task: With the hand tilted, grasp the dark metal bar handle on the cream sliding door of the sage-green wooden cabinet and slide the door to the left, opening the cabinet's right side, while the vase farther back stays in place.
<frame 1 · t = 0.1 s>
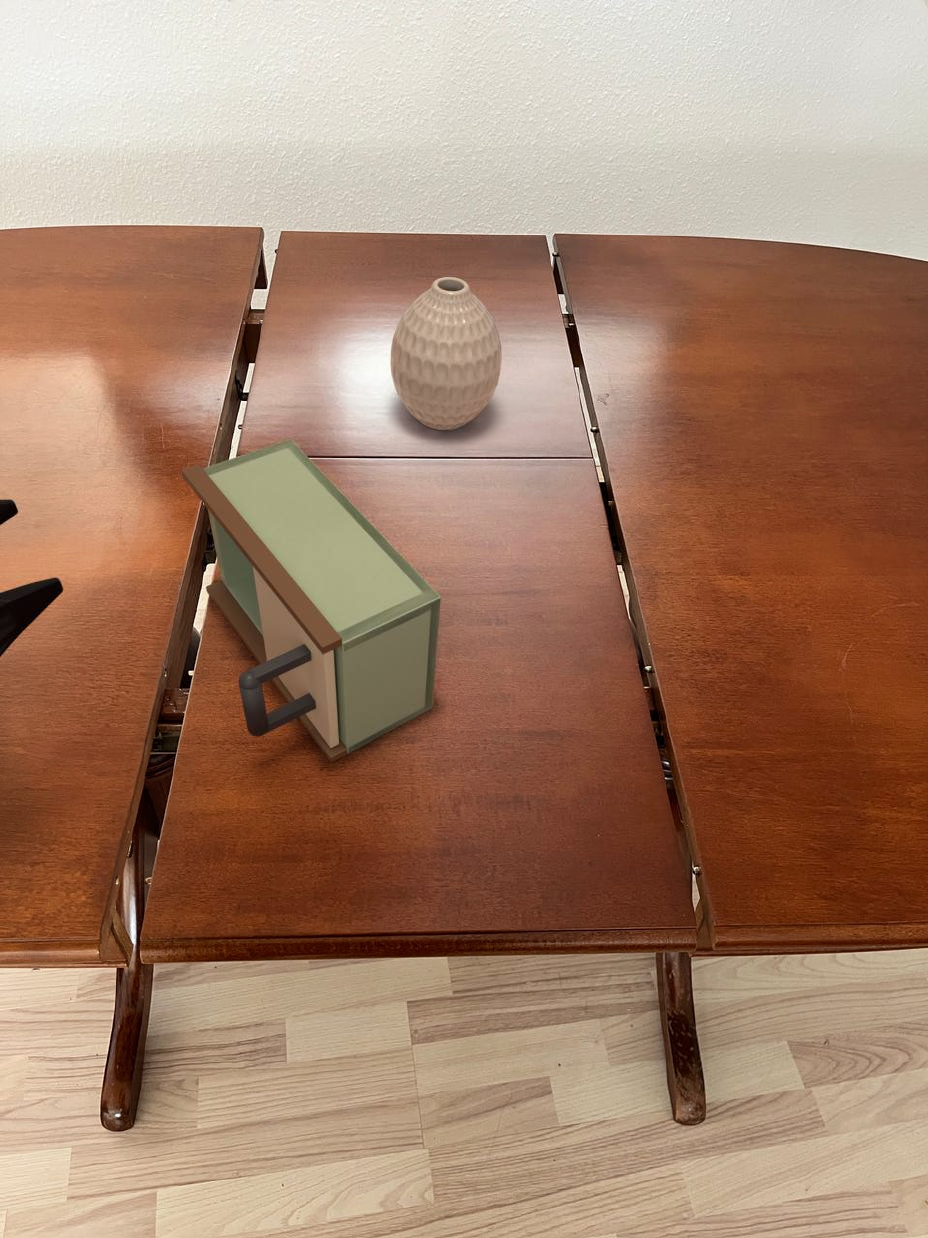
hand: (37, 543, 59), 19 cm above the table, tool horizontal, fingers open, 9 cm apart
door: (264, 669, 67), point 7 cm above the table, slide at 0.0 cm
vase: (442, 417, 105), on the table
cabinet: (319, 645, 79), on the table
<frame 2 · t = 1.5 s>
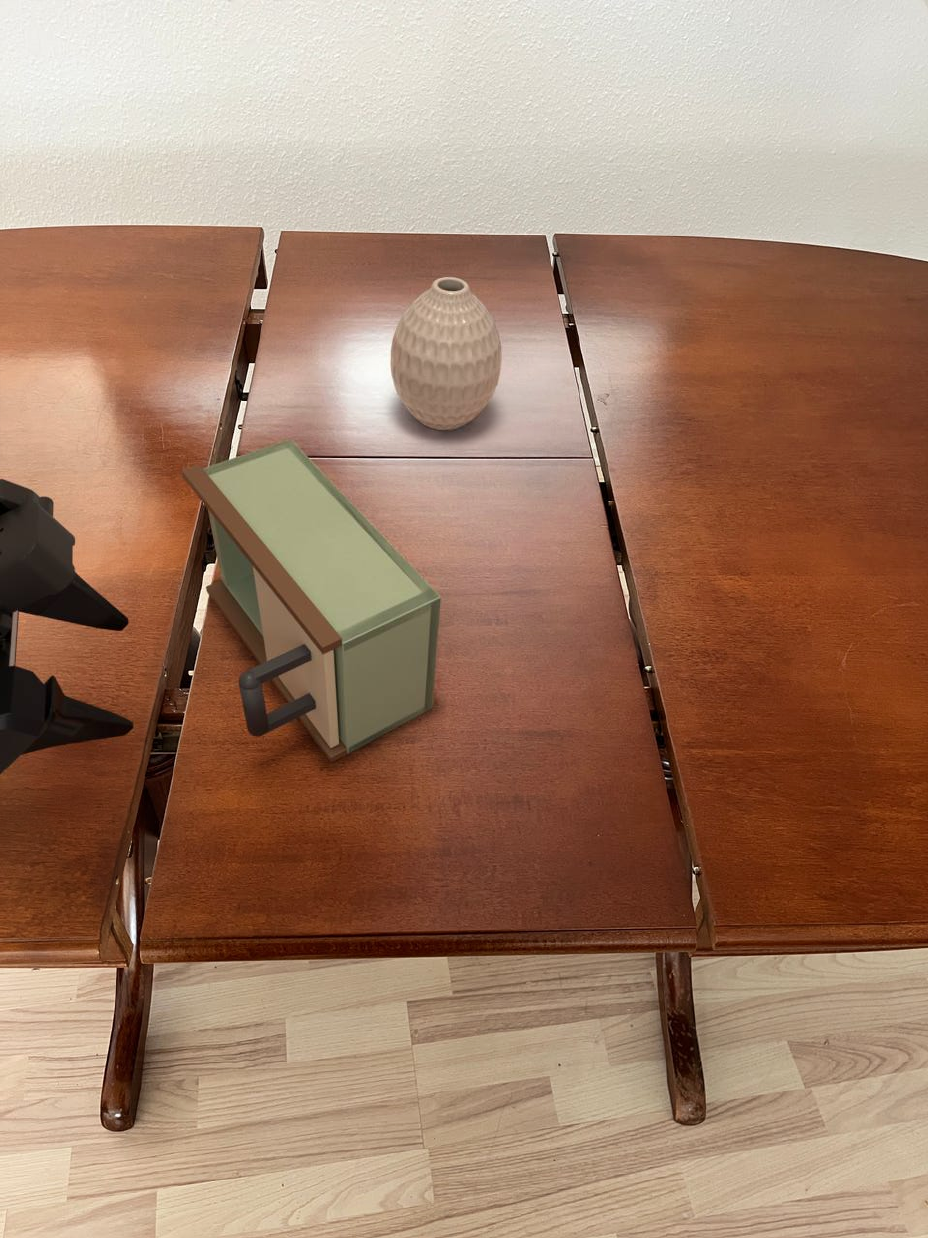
hand: (127, 674, 58), 13 cm above the table, tool tilted 45°, fingers open, 9 cm apart
nothing on the table moved.
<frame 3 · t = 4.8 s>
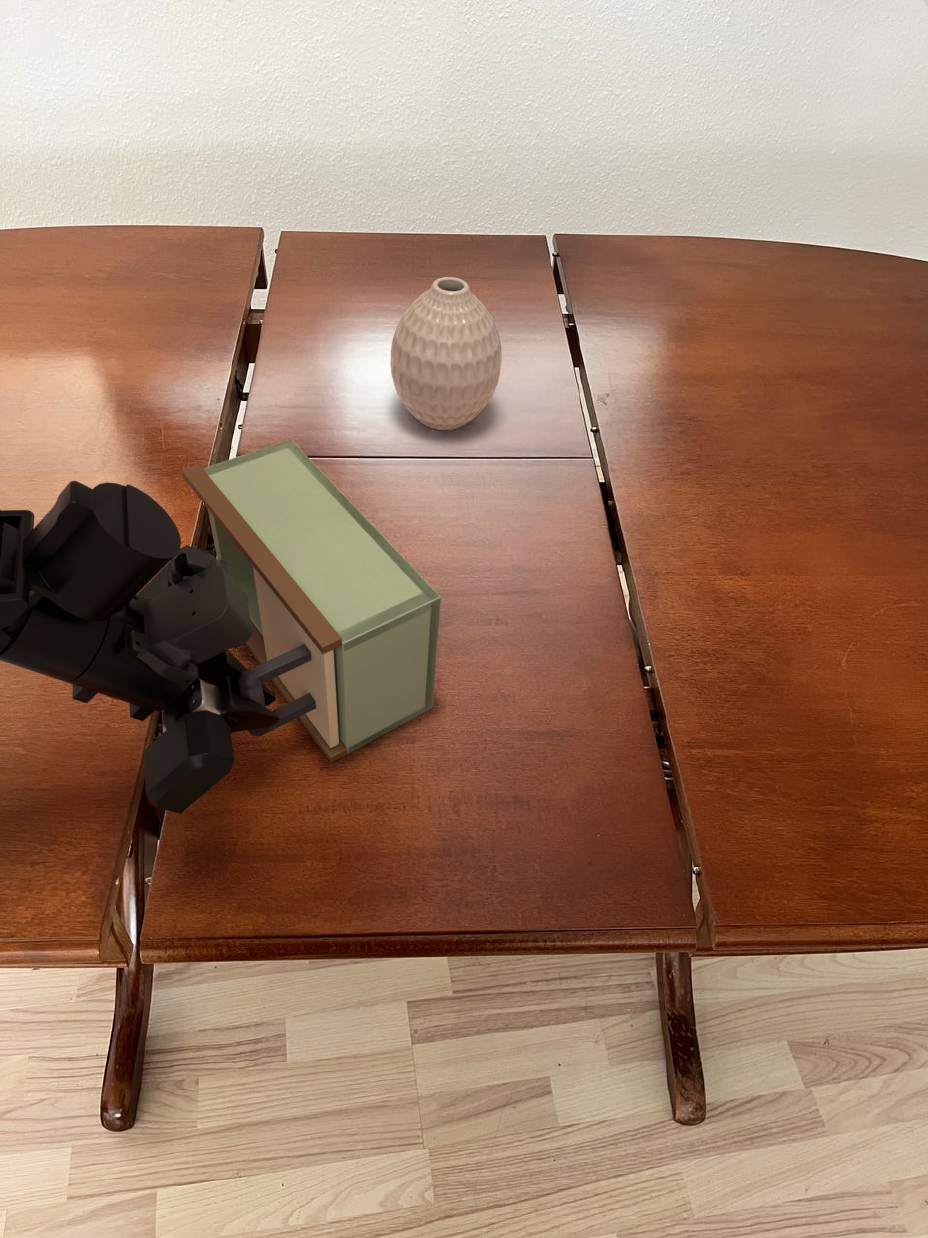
hand: (274, 711, 65), 7 cm above the table, tool tilted 45°, fingers closed on door, 2 cm apart
door: (264, 669, 67), point 7 cm above the table, slide at 0.0 cm, touching gripper
everything else where it was.
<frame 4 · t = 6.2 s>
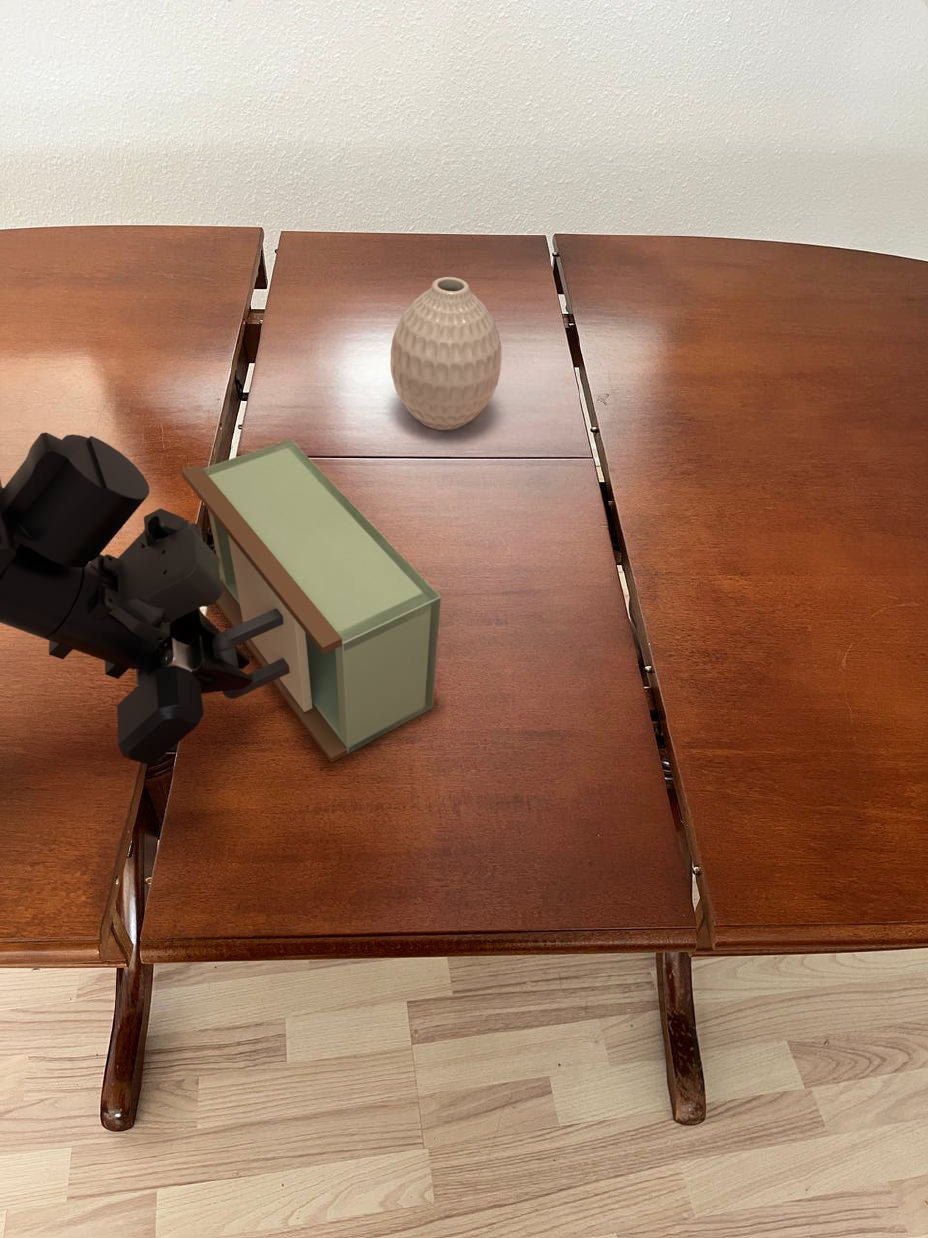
hand: (247, 673, 67), 7 cm above the table, tool tilted 45°, fingers closed on door, 2 cm apart
door: (239, 634, 69), point 7 cm above the table, slide at 4.3 cm, touching gripper
everything else where it was.
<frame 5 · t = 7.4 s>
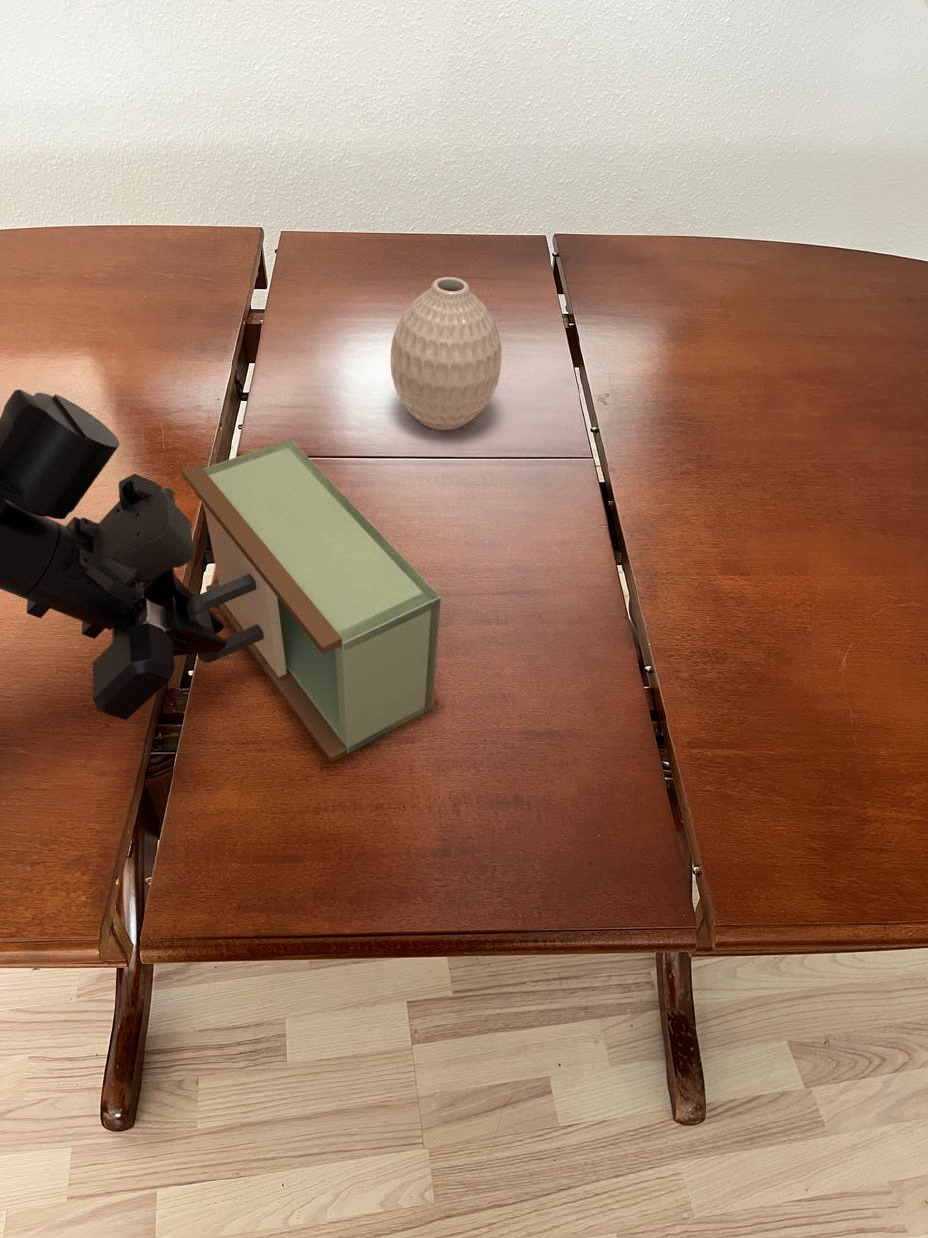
hand: (222, 637, 70), 7 cm above the table, tool tilted 45°, fingers closed on door, 2 cm apart
door: (214, 600, 71), point 7 cm above the table, slide at 8.8 cm, touching gripper
everything else where it was.
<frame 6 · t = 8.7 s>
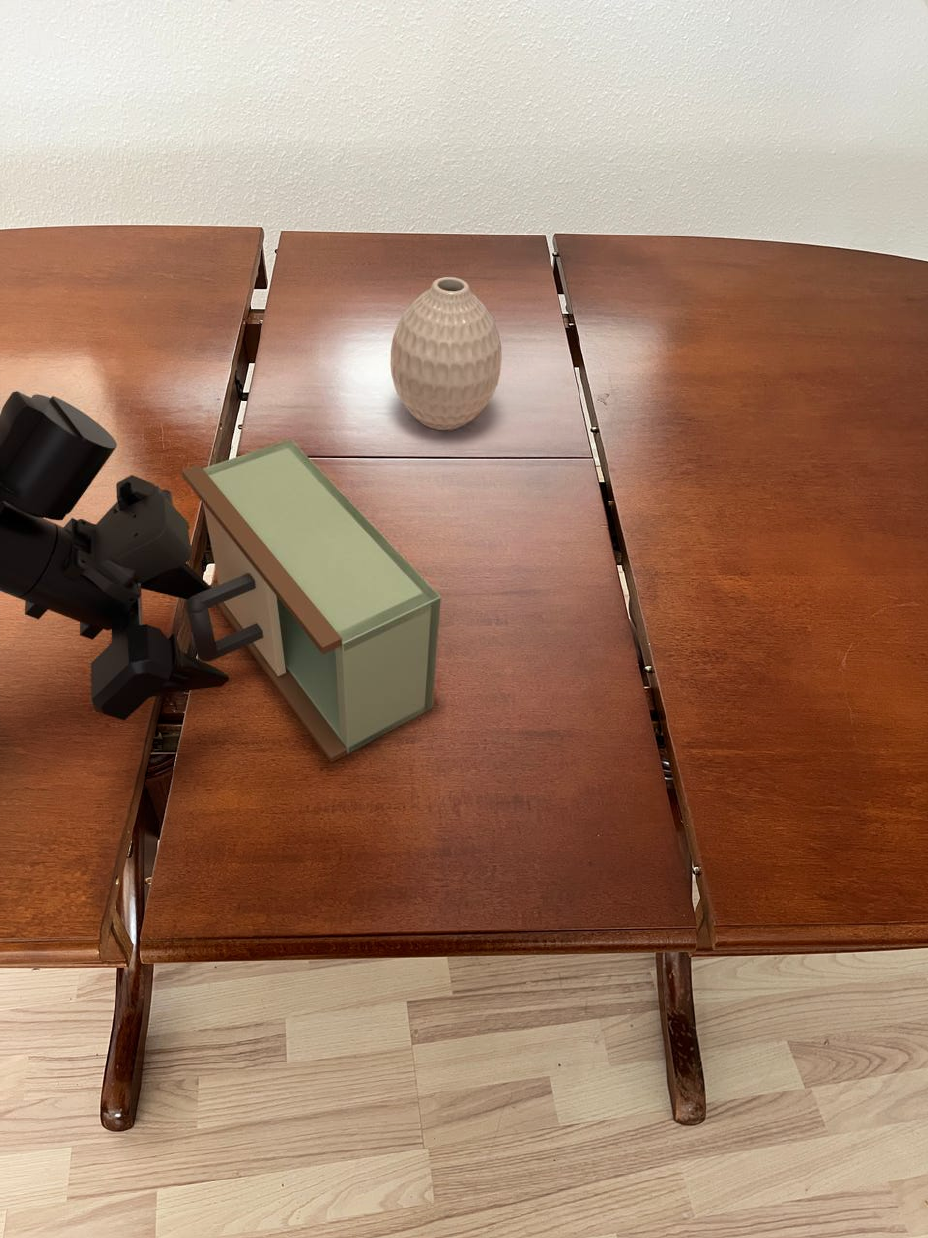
hand: (220, 638, 70), 6 cm above the table, tool tilted 45°, fingers open, 9 cm apart
door: (214, 599, 72), point 7 cm above the table, slide at 8.9 cm
everything else where it was.
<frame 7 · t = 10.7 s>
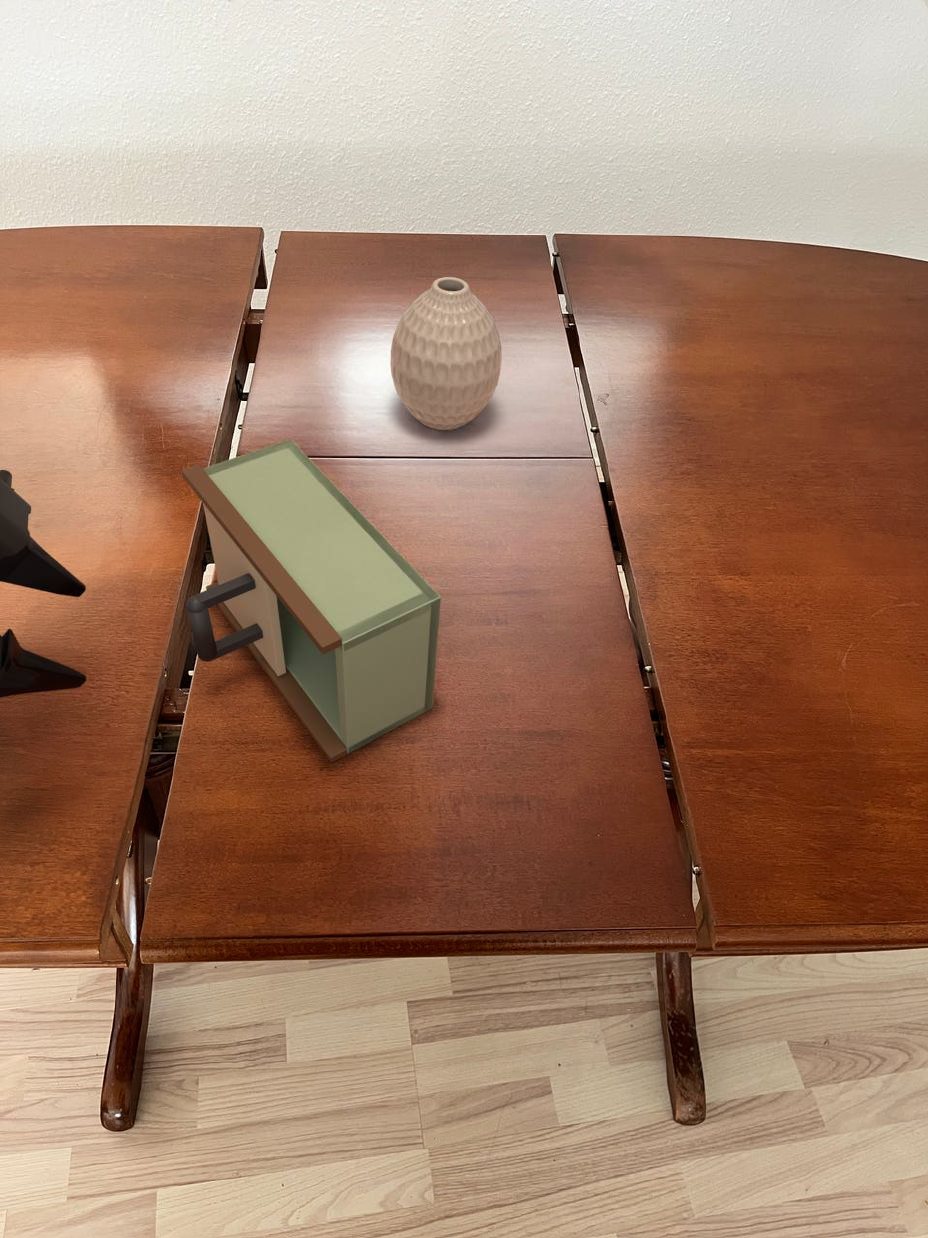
hand: (83, 635, 64), 10 cm above the table, tool tilted 45°, fingers open, 9 cm apart
nothing on the table moved.
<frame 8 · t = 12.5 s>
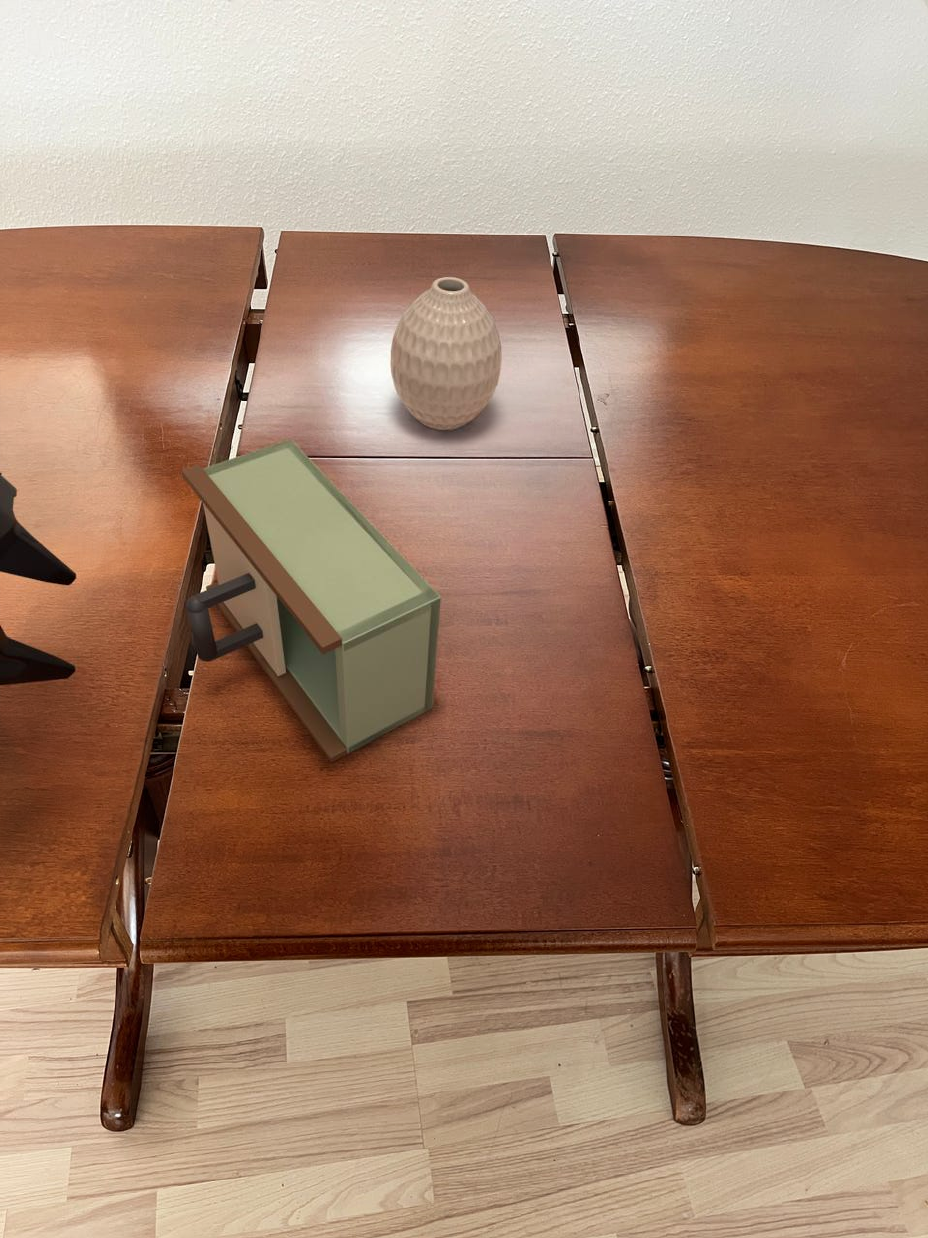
hand: (72, 624, 62), 13 cm above the table, tool tilted 45°, fingers open, 9 cm apart
nothing on the table moved.
at the end: door slide at 8.9 cm; the gripper is holding nothing; vase moved 0.2 cm from its start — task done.
